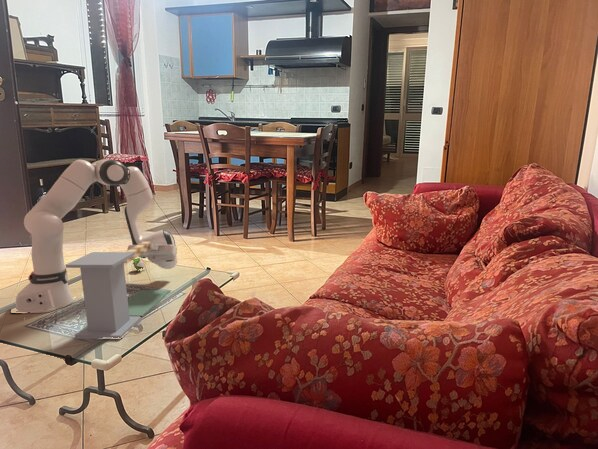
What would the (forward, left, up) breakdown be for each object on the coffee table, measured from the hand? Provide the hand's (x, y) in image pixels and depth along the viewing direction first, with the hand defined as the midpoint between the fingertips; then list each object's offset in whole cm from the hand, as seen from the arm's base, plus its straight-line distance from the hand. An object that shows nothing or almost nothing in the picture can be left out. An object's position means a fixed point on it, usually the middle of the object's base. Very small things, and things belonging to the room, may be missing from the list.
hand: (144, 245), depth 185 cm
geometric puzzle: (-7, +41, -22) cm, 47 cm away
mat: (-3, -8, -22) cm, 24 cm away
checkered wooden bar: (-3, -8, -2) cm, 8 cm away
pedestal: (-11, -31, -22) cm, 40 cm away
